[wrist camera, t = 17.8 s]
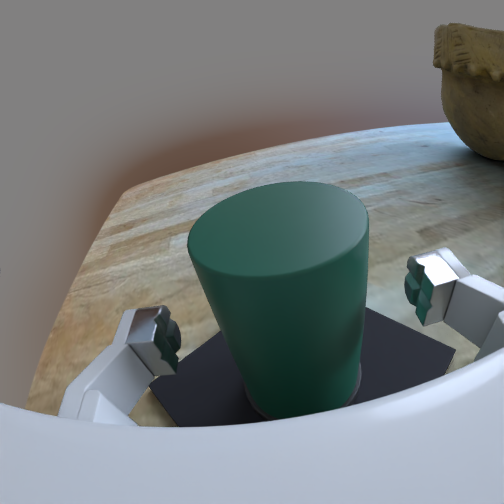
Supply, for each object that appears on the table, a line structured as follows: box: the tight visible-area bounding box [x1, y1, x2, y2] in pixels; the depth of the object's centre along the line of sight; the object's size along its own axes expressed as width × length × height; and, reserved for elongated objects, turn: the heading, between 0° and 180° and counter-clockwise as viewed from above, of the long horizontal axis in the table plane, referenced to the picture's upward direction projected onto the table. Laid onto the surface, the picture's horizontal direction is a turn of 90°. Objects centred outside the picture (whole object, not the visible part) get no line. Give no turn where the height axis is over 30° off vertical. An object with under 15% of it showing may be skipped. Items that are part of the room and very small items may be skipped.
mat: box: [149, 307, 456, 427], centre depth 13 cm, size 12×12×1 cm
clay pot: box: [433, 23, 504, 161], centre depth 26 cm, size 21×21×20 cm
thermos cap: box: [187, 181, 369, 422], centre depth 11 cm, size 6×6×9 cm
